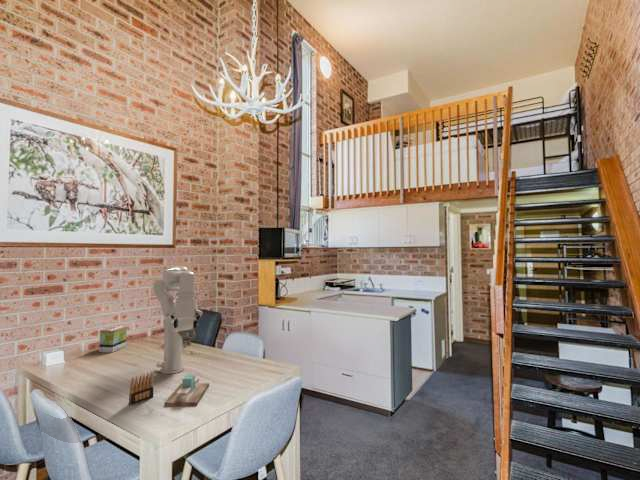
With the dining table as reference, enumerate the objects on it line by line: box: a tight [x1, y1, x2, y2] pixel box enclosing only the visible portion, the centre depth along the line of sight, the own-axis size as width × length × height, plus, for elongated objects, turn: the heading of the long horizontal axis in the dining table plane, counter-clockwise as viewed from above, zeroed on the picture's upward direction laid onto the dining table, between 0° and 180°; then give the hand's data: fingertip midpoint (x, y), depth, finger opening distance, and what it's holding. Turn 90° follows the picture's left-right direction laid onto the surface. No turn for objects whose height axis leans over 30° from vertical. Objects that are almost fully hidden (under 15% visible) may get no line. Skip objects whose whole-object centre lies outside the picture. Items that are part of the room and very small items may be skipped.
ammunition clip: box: [128, 371, 154, 406], centre depth 156 cm, size 11×2×12 cm, turn 149°
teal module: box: [181, 373, 196, 393], centre depth 163 cm, size 4×6×7 cm, turn 5°
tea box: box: [98, 325, 128, 353], centre depth 235 cm, size 15×10×15 cm, turn 179°
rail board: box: [163, 376, 210, 407], centre depth 162 cm, size 14×22×5 cm, turn 4°
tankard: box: [178, 323, 199, 345], centre depth 255 cm, size 20×13×15 cm, turn 81°
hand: (185, 327), depth 180 cm, fingers open, 9 cm apart
